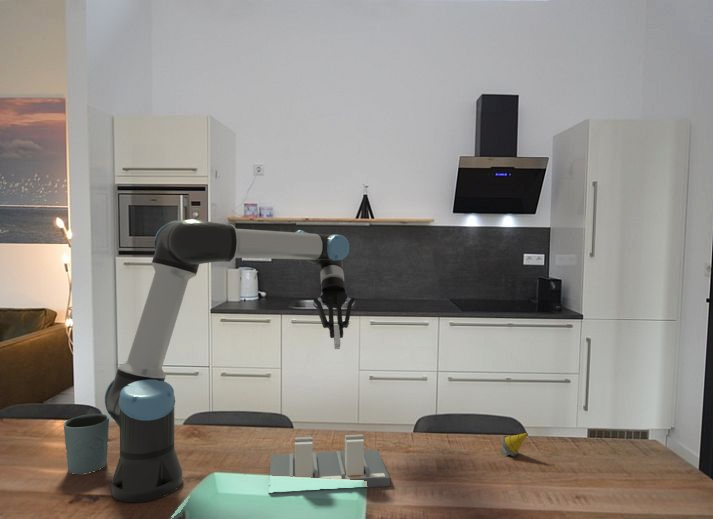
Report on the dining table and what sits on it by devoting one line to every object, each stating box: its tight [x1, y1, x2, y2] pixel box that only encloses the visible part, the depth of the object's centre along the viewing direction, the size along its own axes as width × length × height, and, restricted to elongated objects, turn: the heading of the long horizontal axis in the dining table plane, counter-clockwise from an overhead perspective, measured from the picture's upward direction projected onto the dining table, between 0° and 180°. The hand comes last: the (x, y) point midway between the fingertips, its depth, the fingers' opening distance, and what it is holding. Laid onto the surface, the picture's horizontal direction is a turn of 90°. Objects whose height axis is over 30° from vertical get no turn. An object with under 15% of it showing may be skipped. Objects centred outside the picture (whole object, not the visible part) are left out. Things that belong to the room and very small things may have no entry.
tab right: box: [344, 434, 365, 476], centre depth 114 cm, size 4×4×9 cm
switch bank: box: [269, 448, 391, 488], centre depth 118 cm, size 28×16×3 cm, turn 98°
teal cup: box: [63, 413, 110, 474], centre depth 121 cm, size 10×10×12 cm
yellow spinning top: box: [500, 432, 529, 457], centre depth 130 cm, size 5×5×10 cm
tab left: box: [294, 436, 314, 478], centre depth 113 cm, size 4×4×9 cm
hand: (337, 346), depth 135 cm, fingers closed
